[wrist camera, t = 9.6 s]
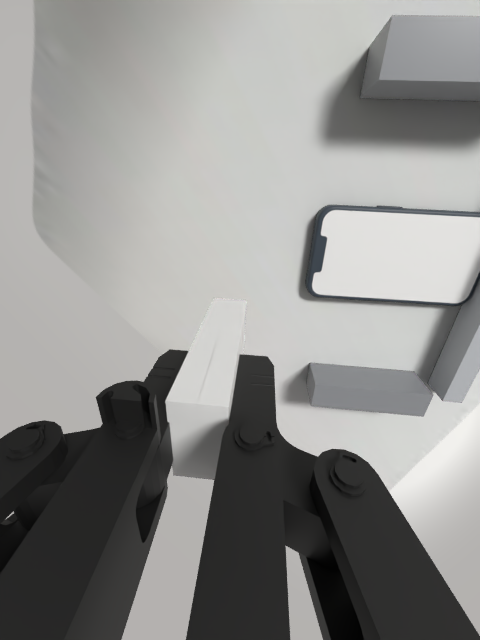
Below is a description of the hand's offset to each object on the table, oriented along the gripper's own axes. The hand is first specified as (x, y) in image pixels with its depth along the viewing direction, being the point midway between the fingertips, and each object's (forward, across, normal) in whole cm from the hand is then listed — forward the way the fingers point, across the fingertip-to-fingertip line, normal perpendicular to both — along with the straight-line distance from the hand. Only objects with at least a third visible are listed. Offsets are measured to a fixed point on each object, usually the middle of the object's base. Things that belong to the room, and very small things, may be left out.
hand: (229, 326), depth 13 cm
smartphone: (+17, +14, 0) cm, 22 cm away
